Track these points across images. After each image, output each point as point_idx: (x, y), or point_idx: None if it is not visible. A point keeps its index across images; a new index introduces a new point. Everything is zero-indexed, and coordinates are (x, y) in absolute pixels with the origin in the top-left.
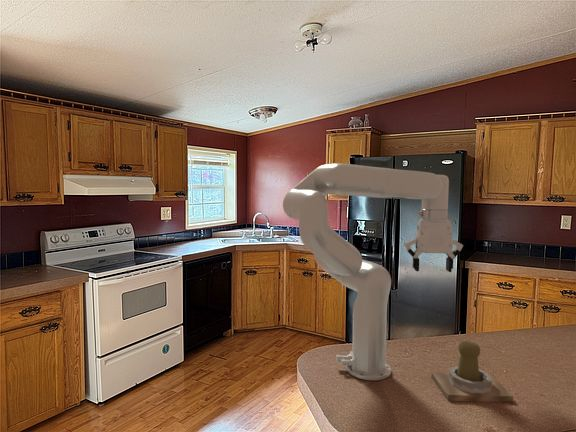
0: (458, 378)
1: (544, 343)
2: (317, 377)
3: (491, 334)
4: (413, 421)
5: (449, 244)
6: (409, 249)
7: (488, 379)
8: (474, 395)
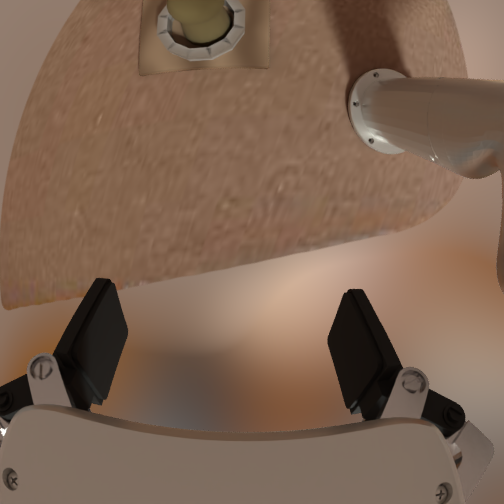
0: (237, 2)
1: (21, 251)
2: None
3: (82, 286)
4: None
5: (14, 494)
6: (463, 426)
7: None
8: None
